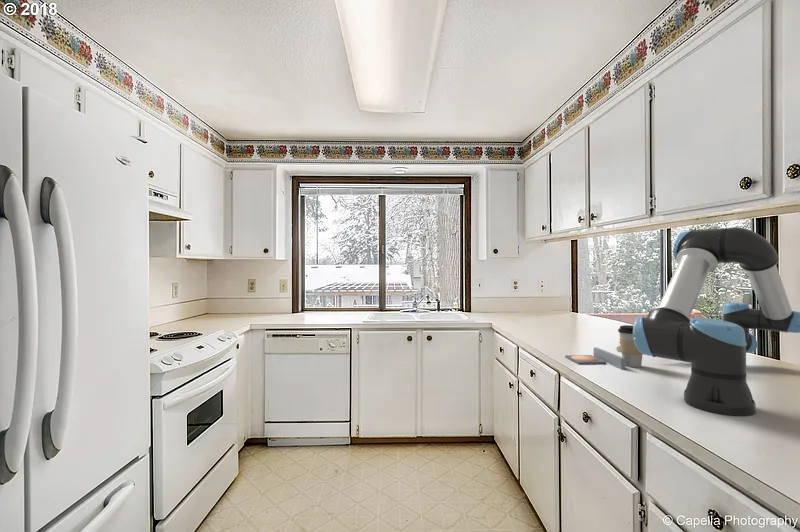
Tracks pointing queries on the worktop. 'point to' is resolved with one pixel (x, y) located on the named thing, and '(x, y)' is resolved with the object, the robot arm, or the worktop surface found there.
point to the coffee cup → (629, 347)
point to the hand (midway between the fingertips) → (656, 344)
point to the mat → (585, 359)
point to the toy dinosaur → (619, 348)
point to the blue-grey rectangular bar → (609, 358)
